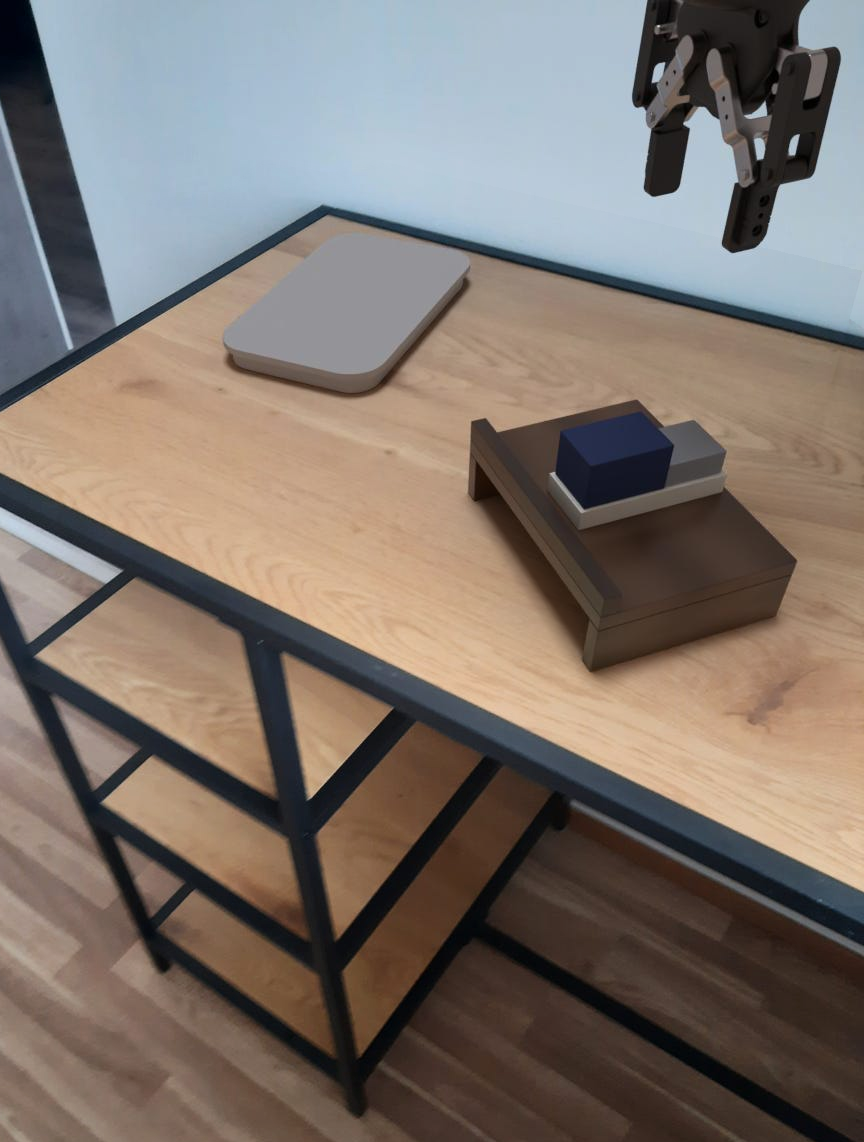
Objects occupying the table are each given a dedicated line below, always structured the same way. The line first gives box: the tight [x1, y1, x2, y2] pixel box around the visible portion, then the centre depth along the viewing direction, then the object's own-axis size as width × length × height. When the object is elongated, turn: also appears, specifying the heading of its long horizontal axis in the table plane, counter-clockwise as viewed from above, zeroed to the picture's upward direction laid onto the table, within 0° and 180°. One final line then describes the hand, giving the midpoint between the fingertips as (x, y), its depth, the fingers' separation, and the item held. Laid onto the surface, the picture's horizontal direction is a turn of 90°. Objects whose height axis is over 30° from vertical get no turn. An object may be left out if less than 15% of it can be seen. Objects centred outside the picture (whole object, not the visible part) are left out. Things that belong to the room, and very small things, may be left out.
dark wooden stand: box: [467, 398, 798, 672], centre depth 66 cm, size 14×20×6 cm
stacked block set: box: [548, 411, 728, 530], centre depth 63 cm, size 11×5×5 cm, turn 110°
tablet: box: [221, 232, 471, 394], centre depth 92 cm, size 16×26×2 cm, turn 155°
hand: (698, 219), depth 56 cm, fingers open, 8 cm apart
